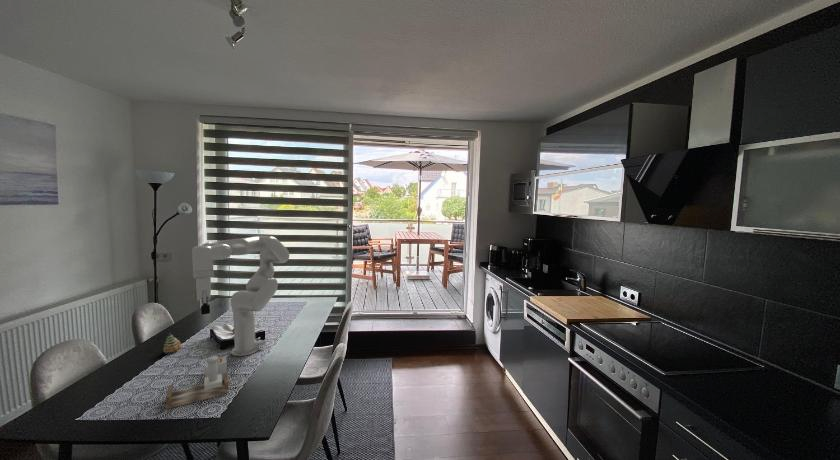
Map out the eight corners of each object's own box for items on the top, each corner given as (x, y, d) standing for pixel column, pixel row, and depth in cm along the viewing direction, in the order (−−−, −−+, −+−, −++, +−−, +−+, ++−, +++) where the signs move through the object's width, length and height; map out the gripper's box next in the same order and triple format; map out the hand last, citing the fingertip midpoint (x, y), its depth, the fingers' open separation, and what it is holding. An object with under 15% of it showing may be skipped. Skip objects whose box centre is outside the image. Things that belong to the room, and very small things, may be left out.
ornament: (168, 348, 172) (167, 330, 171) (182, 346, 174) (181, 328, 173) (162, 355, 165) (160, 336, 164) (176, 353, 167) (175, 334, 166)
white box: (226, 373, 148) (226, 356, 147) (227, 380, 142) (226, 362, 141) (205, 378, 143) (204, 360, 143) (205, 385, 137) (204, 367, 137)
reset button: (220, 365, 145) (220, 358, 144) (220, 368, 142) (220, 362, 141) (211, 367, 143) (210, 360, 142) (211, 370, 140) (210, 364, 139)
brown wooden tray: (227, 382, 140) (227, 372, 140) (228, 392, 132) (228, 382, 132) (169, 397, 129) (168, 386, 129) (166, 409, 122) (165, 397, 121)
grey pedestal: (221, 378, 138) (220, 353, 137) (222, 386, 132) (221, 359, 131) (204, 382, 135) (203, 356, 134) (204, 390, 129) (203, 363, 128)
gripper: (194, 271, 150) (196, 310, 151) (192, 277, 137) (195, 320, 139) (213, 269, 154) (215, 307, 155) (213, 275, 141) (215, 316, 143)
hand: (205, 313), depth 147 cm, fingers closed
